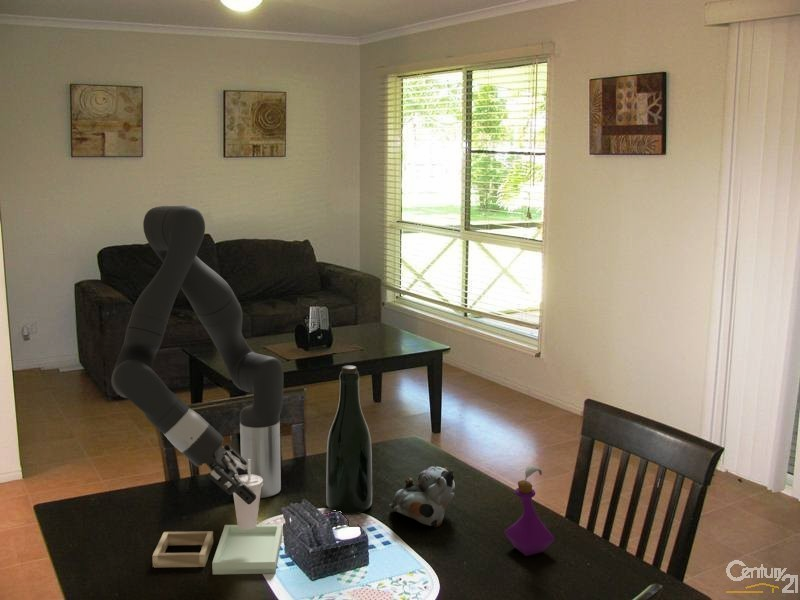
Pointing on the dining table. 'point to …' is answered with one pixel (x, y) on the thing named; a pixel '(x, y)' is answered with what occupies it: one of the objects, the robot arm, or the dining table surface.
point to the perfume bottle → (529, 522)
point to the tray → (248, 550)
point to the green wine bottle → (349, 451)
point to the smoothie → (243, 510)
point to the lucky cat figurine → (426, 496)
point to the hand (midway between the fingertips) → (255, 493)
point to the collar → (183, 558)
